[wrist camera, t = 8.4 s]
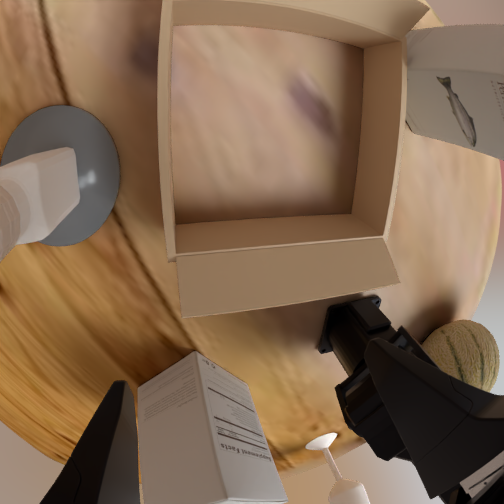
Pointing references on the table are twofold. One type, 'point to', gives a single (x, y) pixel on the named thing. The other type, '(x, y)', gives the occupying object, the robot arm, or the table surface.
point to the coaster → (87, 160)
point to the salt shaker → (36, 196)
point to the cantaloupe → (465, 352)
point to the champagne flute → (339, 476)
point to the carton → (297, 227)
